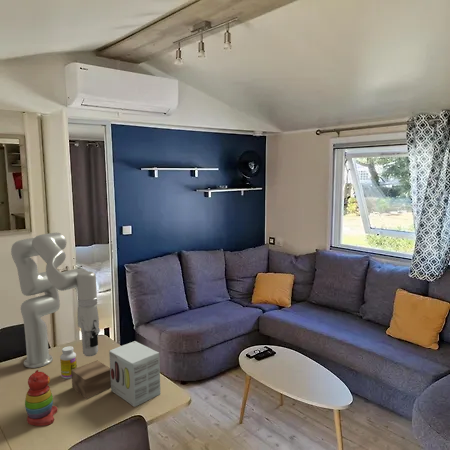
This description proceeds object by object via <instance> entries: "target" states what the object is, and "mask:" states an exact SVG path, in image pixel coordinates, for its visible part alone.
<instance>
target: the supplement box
mask: <svg viewBox="0 0 450 450" xmlns="http://www.w3.org/2000/svg"><path fill="white" fill-rule="evenodd" d="M108 353H109V354H108V355H109V368H110V377H111V388H110V391H111V392H112V393H114V394H115V395H117V396H118V397H120V398H121V399H122V400H124V401H125V402H127V403H128V404H130V405H131V406H133V408H136V407H137V406H139V405H141V404H143V403H146V402H148V401H149V400H152V399H154V398H156V397H157V396H160V395H161V393H162V392H161V369H160V368H161V367H160V366H161V365H160V352H159V351H157V350H155V349H153V348H151V347H150V346H147V345H145V344H142V343H140V342H138V341H136V340H134V341H132V342H131V341H130V342H129V343H126V344H122V345H120V346H117V347H115V348H113V349H110V350H108Z"/></svg>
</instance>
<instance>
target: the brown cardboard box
mask: <svg viewBox="0 0 450 450" xmlns="http://www.w3.org/2000/svg"><path fill="white" fill-rule="evenodd" d="M71 374H72V378H71V386H72V389H73V390H74V391H76V392H77V393H78V394H80V396H82V397H83V398H85V399H88V398H90V397H93V396H96V395H97V394H100V393H101V392H102V393H103V392H104V391H107V390H109V389H111V377H110V366H107V365H106V364H104V363H103V362H101V361H99V360H94V361H92V362H89V363H87V364H84V365H81V366H79V367H78V366H77V368H75V369H73V370H71Z"/></svg>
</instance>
